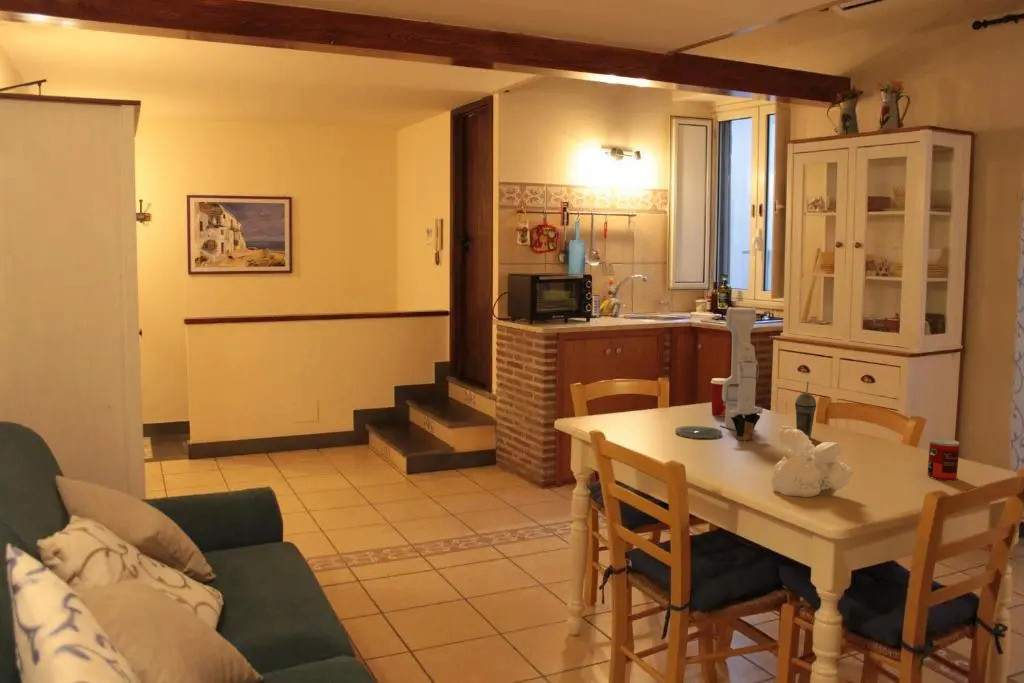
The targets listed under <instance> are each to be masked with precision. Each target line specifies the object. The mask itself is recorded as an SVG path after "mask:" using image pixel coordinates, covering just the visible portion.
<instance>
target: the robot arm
mask: <svg viewBox="0 0 1024 683" xmlns="http://www.w3.org/2000/svg"><path fill="white" fill-rule="evenodd" d="M725 317H726V318H725V319H726V320H725V323H726V324H725V325H726V326H725V327H726V330H728V331H729V332H730V333H731V359H730V360H731V365H730V367H731V369H730V376H729V377H727V378H725V379H726V380H725V381H724V382H723V388H722V399H723V401H724V402H726V413H725V416H724V424H723V423H722V424H719V426H720V427H723V428H726V429H730V430H734V431H735V434H736V433H737V436H739V437H743V433H744V426H745V422H746V421H747V422H751V423H754V426H753V432H754V430H755V427H756V425H757V423H758V422H759V420H760V419H761V414H763V412H764V411H763V407H759V406H757V407H756V404H755V403H756V386H757V385H756V384H757V379H758V377H759V368H760V367H759V364H758V362H759V361H758V359H756V352H755V346H754V345H753V344H752V343H751V331H752V330H753V328H754V326H755V325H756V322H757V310H756V308H755V307H731V306H729V307H728V308H727V310H726V316H725ZM729 384H730V385H729Z"/></svg>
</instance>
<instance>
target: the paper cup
mask: <svg viewBox="0 0 1024 683" xmlns="http://www.w3.org/2000/svg"><path fill="white" fill-rule="evenodd" d="M726 379H727V378H722V377H714V378H713V377H712V379H711V381H710V384H711V415H712V414H714V415H713V416H715V415H725V413H726V402H724V401H723V399H722V388H723V382H724V381H725V380H726ZM729 385H731V384H729Z"/></svg>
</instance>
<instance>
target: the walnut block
mask: <svg viewBox="0 0 1024 683" xmlns="http://www.w3.org/2000/svg"><path fill="white" fill-rule="evenodd" d="M753 426H754V423H751V422H747V421H746V422H745V426H744V433H743V437H739V436H737V433H736V432H735V440H737V439H740V440H739V441H741V440H744V441H745V442H747V441H746V440H751V441H753V440H754V439H753V438H754V431H753ZM744 441H743V442H744Z"/></svg>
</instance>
